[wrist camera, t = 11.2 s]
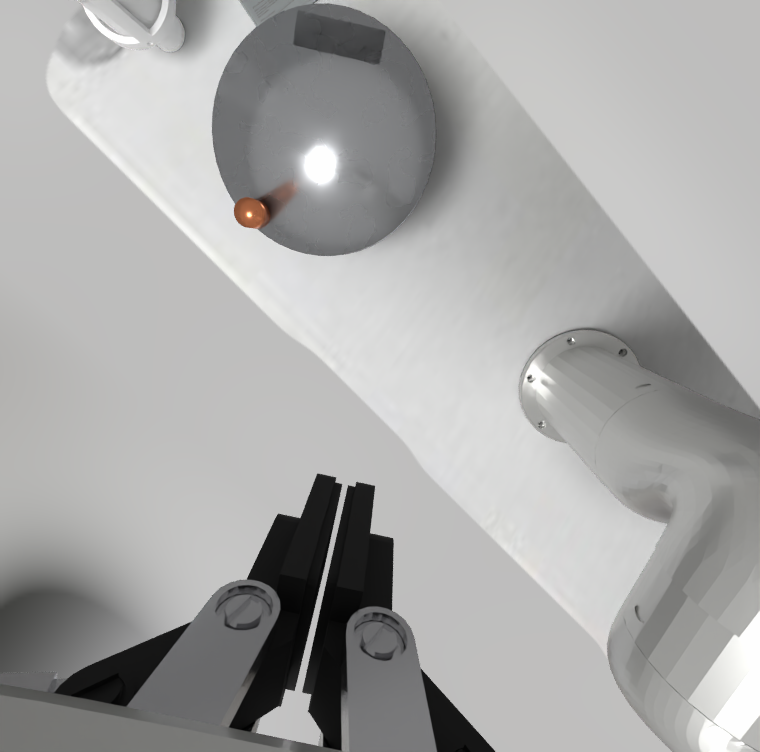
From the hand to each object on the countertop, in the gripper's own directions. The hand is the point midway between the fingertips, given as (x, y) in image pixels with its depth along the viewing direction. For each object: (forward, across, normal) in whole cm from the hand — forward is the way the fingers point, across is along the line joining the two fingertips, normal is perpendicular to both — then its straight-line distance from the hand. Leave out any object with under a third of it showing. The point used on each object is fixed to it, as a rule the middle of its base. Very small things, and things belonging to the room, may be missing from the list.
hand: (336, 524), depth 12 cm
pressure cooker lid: (+25, +7, -14) cm, 29 cm away
